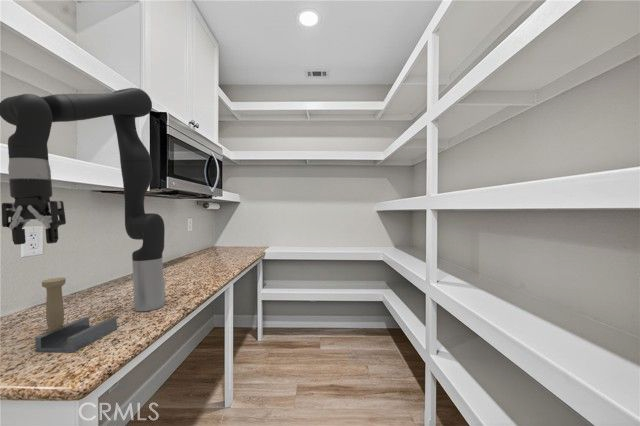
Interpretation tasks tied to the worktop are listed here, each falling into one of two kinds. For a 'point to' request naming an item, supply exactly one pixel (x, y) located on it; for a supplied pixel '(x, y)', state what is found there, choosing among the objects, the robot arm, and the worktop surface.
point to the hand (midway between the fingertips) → (35, 243)
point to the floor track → (74, 335)
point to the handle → (54, 302)
